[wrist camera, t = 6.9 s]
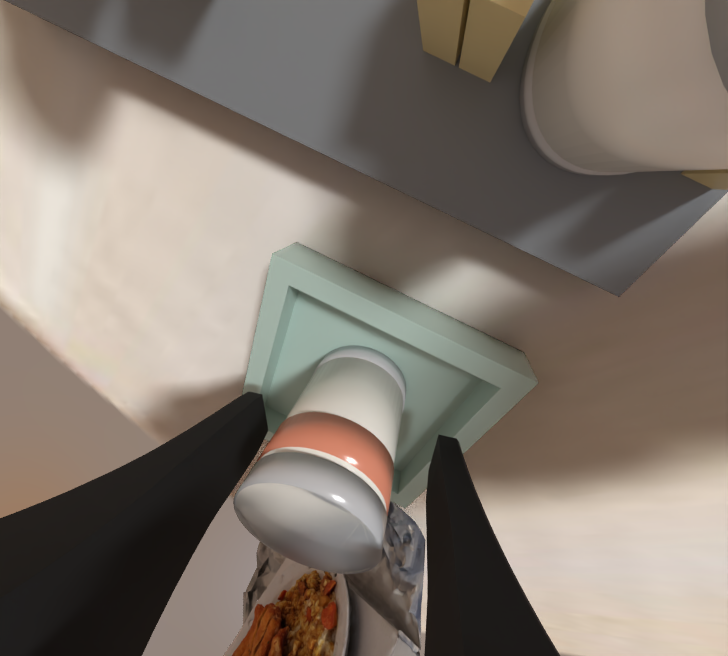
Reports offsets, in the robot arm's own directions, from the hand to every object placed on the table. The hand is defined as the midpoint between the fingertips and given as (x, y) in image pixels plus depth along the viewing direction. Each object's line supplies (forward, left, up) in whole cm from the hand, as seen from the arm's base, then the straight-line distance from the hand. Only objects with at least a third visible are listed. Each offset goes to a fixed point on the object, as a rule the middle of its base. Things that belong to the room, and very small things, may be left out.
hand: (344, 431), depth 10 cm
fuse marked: (0, 0, -2) cm, 2 cm away
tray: (0, 0, -3) cm, 3 cm away
